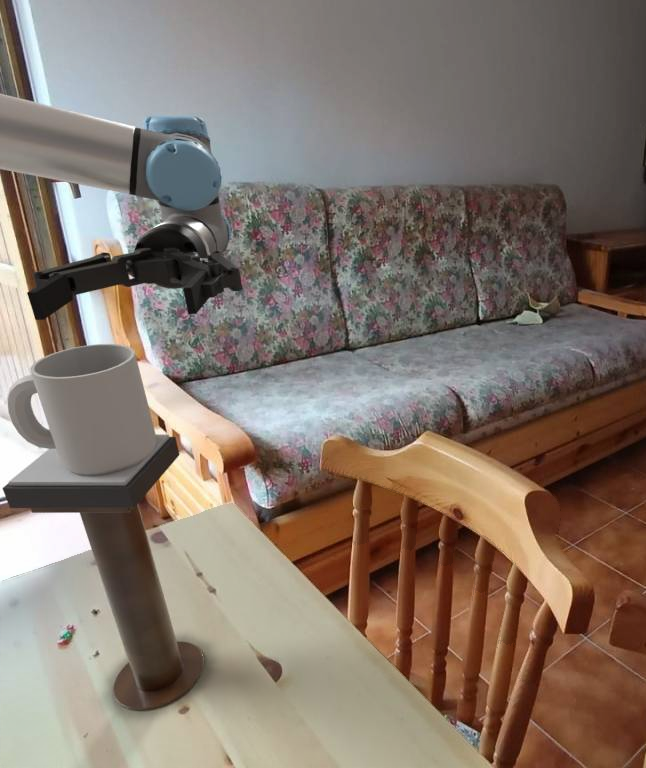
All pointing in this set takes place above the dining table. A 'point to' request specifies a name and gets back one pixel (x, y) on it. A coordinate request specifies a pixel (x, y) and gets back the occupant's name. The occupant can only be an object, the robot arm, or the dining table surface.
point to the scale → (88, 482)
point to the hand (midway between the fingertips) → (114, 303)
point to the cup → (87, 408)
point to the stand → (138, 610)
